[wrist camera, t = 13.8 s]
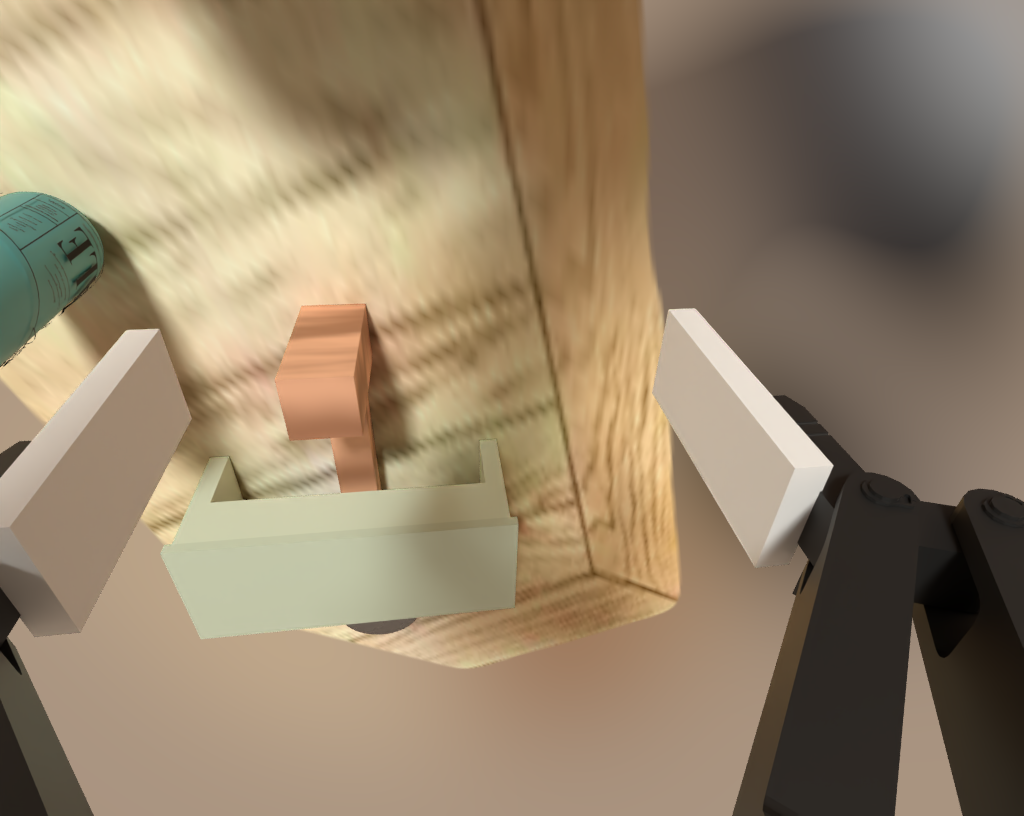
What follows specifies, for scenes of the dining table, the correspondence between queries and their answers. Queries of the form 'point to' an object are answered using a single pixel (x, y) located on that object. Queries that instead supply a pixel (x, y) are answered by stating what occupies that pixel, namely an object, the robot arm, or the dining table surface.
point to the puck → (382, 626)
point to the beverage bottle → (41, 264)
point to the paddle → (332, 389)
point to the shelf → (342, 554)
